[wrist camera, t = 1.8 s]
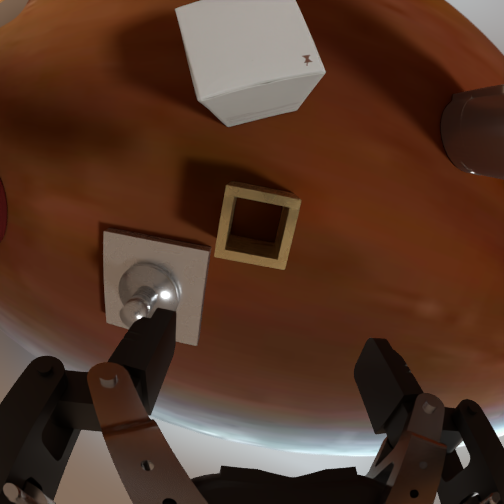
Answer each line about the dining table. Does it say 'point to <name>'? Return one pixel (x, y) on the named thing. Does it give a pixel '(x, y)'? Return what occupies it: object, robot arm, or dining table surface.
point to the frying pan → (2, 211)
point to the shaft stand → (154, 280)
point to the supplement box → (249, 57)
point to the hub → (254, 248)
